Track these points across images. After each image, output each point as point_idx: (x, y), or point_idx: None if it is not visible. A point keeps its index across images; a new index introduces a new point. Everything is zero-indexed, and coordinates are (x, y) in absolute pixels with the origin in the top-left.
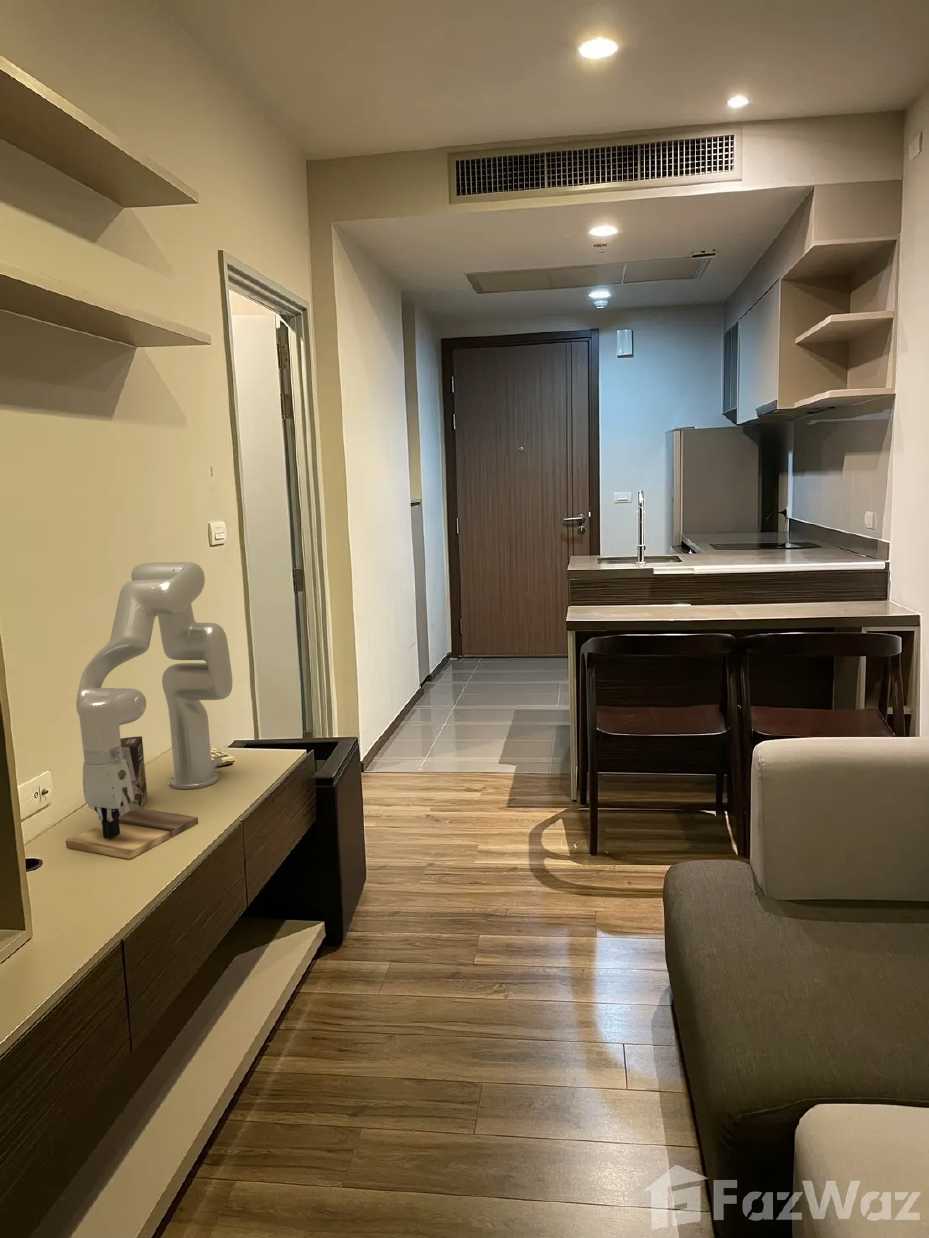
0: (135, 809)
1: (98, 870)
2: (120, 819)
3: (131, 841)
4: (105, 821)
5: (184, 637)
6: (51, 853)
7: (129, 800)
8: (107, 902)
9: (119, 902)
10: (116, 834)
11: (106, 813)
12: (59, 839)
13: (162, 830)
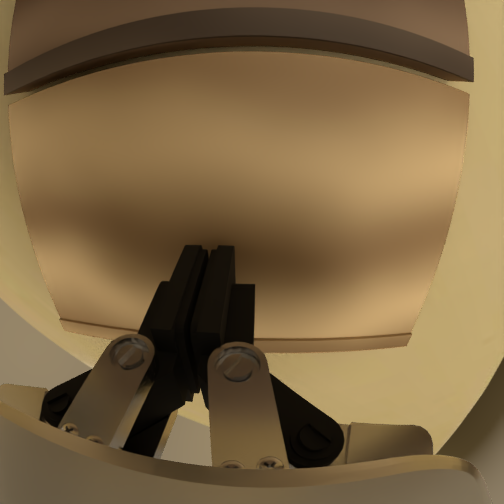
0: None
1: (332, 388)
2: (37, 57)
3: (354, 268)
4: (196, 391)
5: None
6: (86, 344)
7: (422, 491)
8: (422, 423)
9: (440, 415)
10: (234, 273)
11: (153, 407)
12: (6, 262)
13: (425, 78)
